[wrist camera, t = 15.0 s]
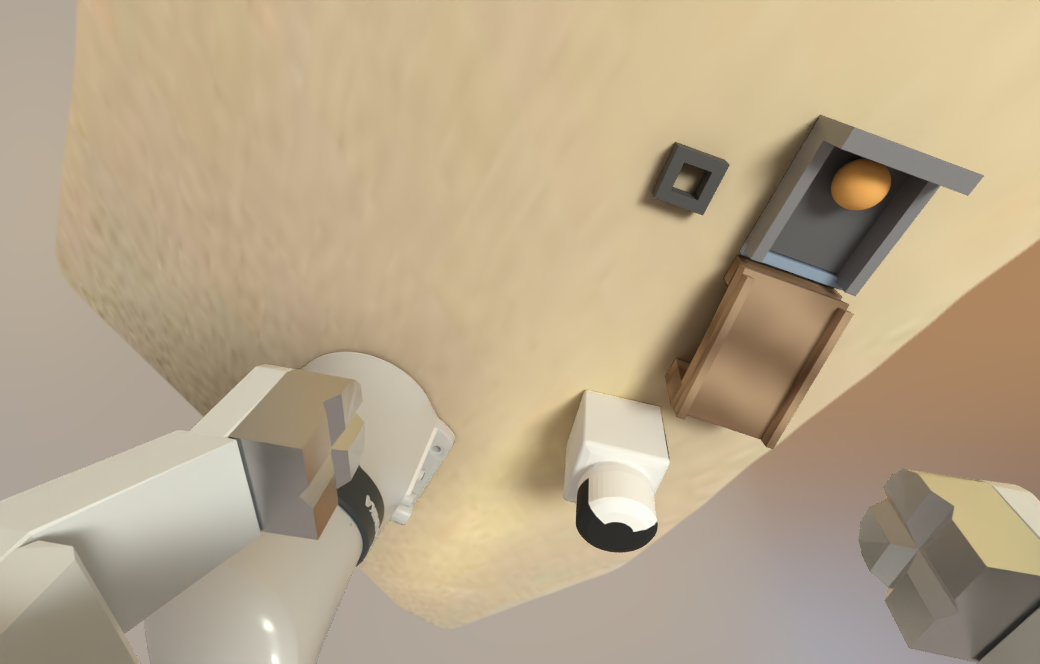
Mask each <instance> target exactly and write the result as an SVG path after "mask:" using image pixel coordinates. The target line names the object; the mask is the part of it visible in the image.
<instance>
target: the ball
mask: <svg viewBox="0 0 1040 664" xmlns="http://www.w3.org/2000/svg"><path fill="white" fill-rule="evenodd" d="M890 185H891V175H890V172H889V170H888V169H887V167H886V166H885V165H884V164H881V163H878V162H875V161H873V160H870V159H867V158H864V159H857V160H854V161H851V162H849V163H847V164H846V165H844V166H843V167H842V168H840V169H839V171H838V172H837V173H836V174H835V176H834V178H833V180H832V184H831V193H832V197H833V199H834V200H835V202H836V203H837V204H838V205H840V206H841V207H843V208H845V209H848V210H864V209H868V208H871V207H873V206H875V205H876V204H878V203H879V202H880V201H881V200H882V199H883V198H884V197H885V196H886V195H887V193H888V191H889V189H890Z"/></svg>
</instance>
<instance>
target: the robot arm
mask: <svg viewBox="0 0 1040 664" xmlns="http://www.w3.org/2000/svg"><path fill="white" fill-rule="evenodd" d="M454 442H455V435H454V434H453V432H452V431H451V430H450V429H449V427H448V426H447V425H445V424H444V423H443V422H442V421H441V420H440V419H439V418H438V417H437V415H436V414H435V412H434V410H433V408H432V405H431V403H430V401H429V399H428V397H427V396H426V394H425V393H424V391H423V390H422V389H421V387H420V386H419V385H418V384H417V383H416V382H415V381H414V380H413V379H412V378H411V377H410V376H409V375H407V374H406V373H405V372H404V371H402V370H401V369H399V368H398V367H396V366H394V365H393V364H391V363H389V362H387V361H385V360H382V359H380V358H377V357H374V356H371V355H367V354H363V353H357V352H335V353H329V354H325V355H322V356H320V357H317V358H316V359H314V360H312V361H311V362H309V363H308V364H307V365H305V366H304V367H303V368H301V369H291V368H286V367H281V366H275V365H270V364H263V365H259V366H256V367H255V368H254V369H253V370H252V371H251V372H249V373H248V374H247V375H246V376H245V377H244V378H243V379H242V380H241V381H240V382H239V383H238V384H237V385H236V386H235V387H234V388H233V389H232V390H231V391H230V392H229V393H228V394H227V395H226V396H225V397H224V398H223V399H222V400H221V401H220V402H219V403H217V404H216V405H215V406H214V407H213V408H212V409H211V410H210V411H209V412H208V413H207V414H206V415H205V416H204V417H203V418H202V419H201V420H200V421H199V422H198V423H197V424H196V425H195V426H194V427H193V428H192V429H191V430H190V431H183V430H176V431H174V432H171V433H169V434H167V435H164V436H162V437H159V438H157V439H154V440H151V441H149V442H146V443H144V444H141V445H139V446H137V447H134V448H131V449H129V450H127V451H124V452H122V453H119V454H117V455H114V456H112V457H109V458H107V459H104V460H102V461H99V462H97V463H94V464H92V465H89V466H87V467H84V468H82V469H79V470H77V471H74V472H72V473H69V474H67V475H64V476H62V477H59V478H57V479H54V480H52V481H49V482H47V483H44V484H42V485H40V486H37V487H34V488H32V489H29V490H27V491H25V492H22V493H19V494H17V495H14V496H12V497H9V498H7V499H4V500H2V501H0V664H141V663H140V660H139V659H138V657H137V655H136V653H135V652H134V650H133V648H132V647H131V645H130V643H129V641H128V640H127V638H126V636H125V635H124V634H125V633H126V632H128V631H129V630H130V629H132V628H133V627H135V626H136V625H137V624H139V623H140V622H141V621H143V620H144V619H145V636H146V643H147V649H148V653H149V661H150V664H317V660H318V657H319V654H320V651H321V649H322V646H323V643H324V640H325V638H326V636H327V633H328V631H329V628H330V626H331V624H332V621H333V619H334V616H335V614H336V611H337V609H338V607H339V604H340V601H341V599H342V597H343V595H344V592H345V590H346V587H347V585H348V583H349V581H350V578H351V576H352V574H353V571H354V569H355V567H356V566H358V565H359V564H360V563H361V562H362V561H363V559H364V558H365V557H366V555H367V553H368V552H369V551H370V549H371V548H372V546H373V544H374V542H375V540H376V539H377V537H378V536H379V535H380V533H381V532H382V530H383V529H384V527H385V526H386V524H387V523H388V521H395V522H397V523H399V524H401V525H405V524H406V523H407V521H408V519H409V517H410V515H411V513H412V510H413V508H414V503H415V502H416V500H417V499H418V497H419V496H420V494H421V493H422V491H423V490H424V488H425V487H426V485H427V484H428V482H429V481H430V479H431V478H432V476H433V475H434V473H435V472H436V470H437V469H438V467H439V466H440V464H441V463H442V461H443V460H444V458H445V457H446V455H447V454H448V452H449V451H450V449H451V448H452V446H453V444H454ZM437 446H439V447H437ZM884 489H885V493H886V496H887V499H885V500H883V501H881V502H879V503H877V504H875V505H873V506H871V507H869V509H868V511H867V513H866V514H865V516H864V517H863V519H862V521H861V522H860V532H859V544H860V548H861V553H862V556H863V558H864V560H865V562H866V564H867V566H868V569H869V571H870V572H871V573H872V574H874V575H875V576H876V577H877V578H878V579H879V580H880V581H881V582H883V583H884V584H885V585H886V586H887V587H888V590H887V594H886V597H885V602H886V604H887V606H888V608H889V610H890V612H891V614H892V616H893V618H894V620H895V622H896V624H897V626H898V627H899V629H900V631H901V633H902V635H903V637H904V639H905V641H906V643H907V645H908V647H909V648H911V649H916V650H920V651H925V652H930V653H934V654H939V655H944V656H948V657H954V658H958V659H963V660H967V661H973V662H977V664H1040V501H1039V500H1038V499H1037V498H1036V497H1035V496H1034V495H1033V494H1032V493H1030V492H1029V491H1027V490H1025V489H1023V488H1021V487H1020V486H1018V485H1013V484H1006V483H999V482H992V481H985V480H972V479H966V478H960V477H953V476H947V475H941V474H934V473H928V472H922V471H915V470H909V469H902V470H900V471H898V472H896V473H894V474H893V475H892V476H891V477H890V479H889V480H888V481H887V483H886V484H885V486H884Z"/></svg>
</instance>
